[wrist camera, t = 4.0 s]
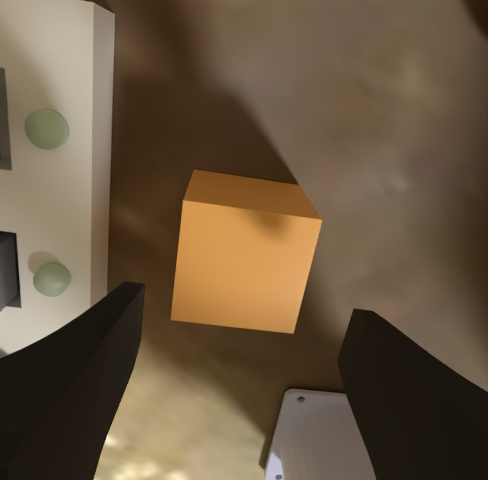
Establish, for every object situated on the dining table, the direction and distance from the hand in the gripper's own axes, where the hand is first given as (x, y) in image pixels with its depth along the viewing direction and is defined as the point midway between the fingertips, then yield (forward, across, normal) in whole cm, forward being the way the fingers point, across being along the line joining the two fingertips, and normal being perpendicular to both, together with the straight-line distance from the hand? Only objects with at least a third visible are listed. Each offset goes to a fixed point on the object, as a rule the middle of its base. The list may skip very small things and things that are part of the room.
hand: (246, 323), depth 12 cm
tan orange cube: (+8, 0, 0) cm, 8 cm away
